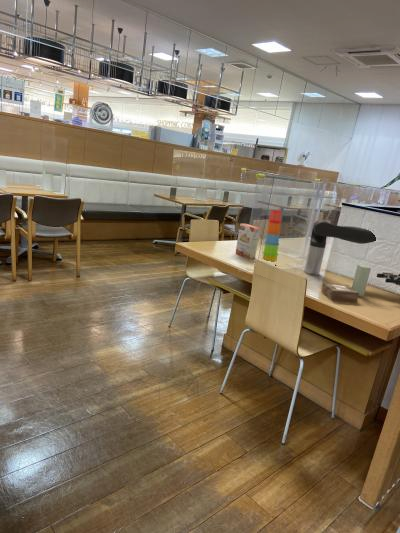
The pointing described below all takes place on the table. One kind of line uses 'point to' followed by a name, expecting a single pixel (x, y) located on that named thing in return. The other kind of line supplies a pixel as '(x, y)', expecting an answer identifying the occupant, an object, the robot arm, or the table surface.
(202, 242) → the table surface
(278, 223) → the stacking cups
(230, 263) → the table surface
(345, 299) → the plinth
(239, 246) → the cracker box
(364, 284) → the pillar
